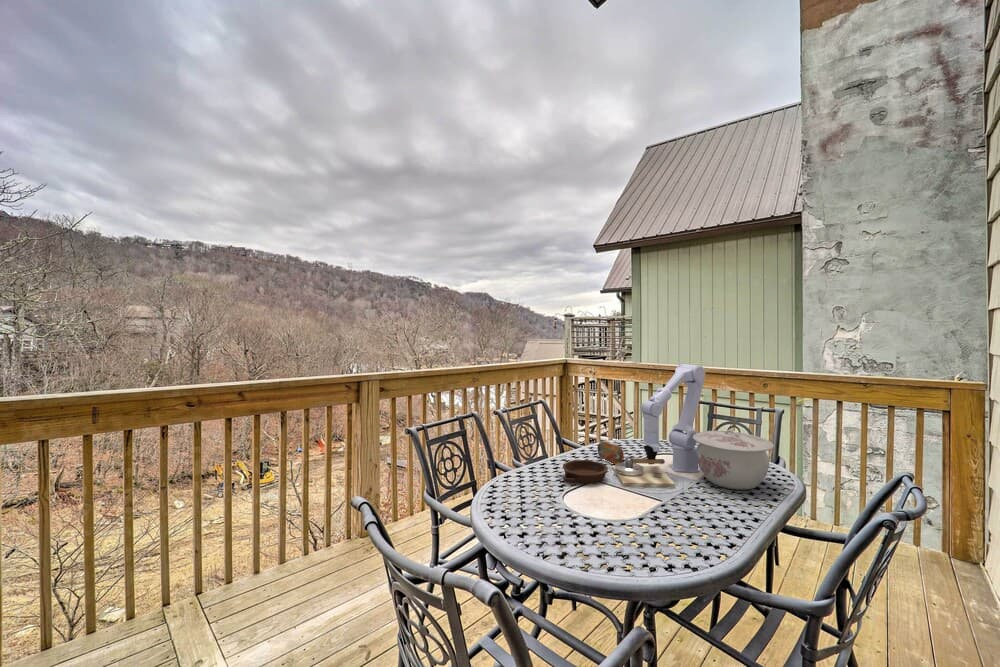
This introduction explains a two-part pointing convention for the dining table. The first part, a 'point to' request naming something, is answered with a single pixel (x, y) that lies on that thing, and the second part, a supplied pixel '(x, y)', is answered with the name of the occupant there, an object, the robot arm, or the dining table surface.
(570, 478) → the dish
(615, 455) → the tin
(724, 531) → the dining table surface
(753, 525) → the dining table surface
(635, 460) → the metal disc with handle
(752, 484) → the chamber pot
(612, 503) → the dining table surface
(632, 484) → the record player
